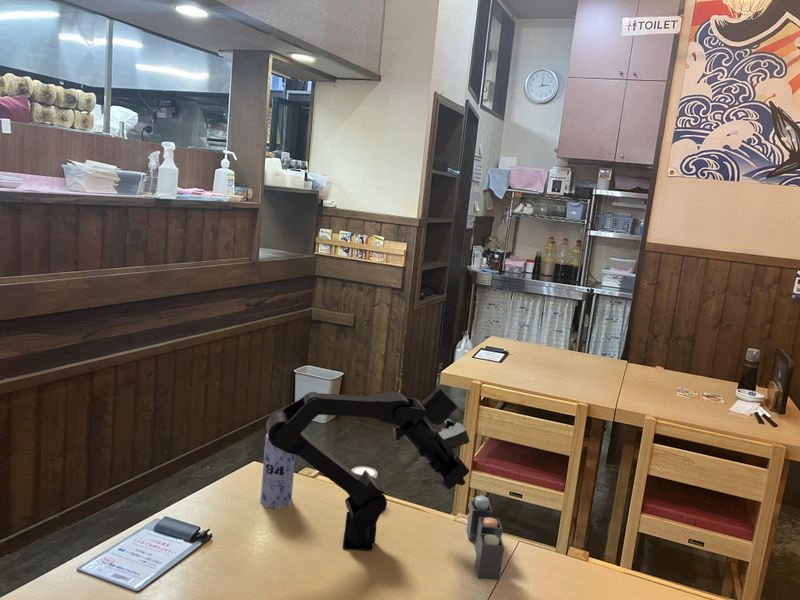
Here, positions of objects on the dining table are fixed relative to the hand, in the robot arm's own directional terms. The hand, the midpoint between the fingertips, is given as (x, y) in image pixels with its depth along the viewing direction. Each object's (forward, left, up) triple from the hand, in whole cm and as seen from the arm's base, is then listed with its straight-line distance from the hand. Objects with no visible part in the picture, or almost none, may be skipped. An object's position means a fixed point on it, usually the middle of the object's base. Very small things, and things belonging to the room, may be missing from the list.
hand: (463, 483), depth 147 cm
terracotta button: (+6, -6, -8) cm, 12 cm away
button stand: (+6, -6, -13) cm, 16 cm away
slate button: (+5, +2, -6) cm, 8 cm away
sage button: (+5, -13, -8) cm, 16 cm away
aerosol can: (-44, +10, -14) cm, 47 cm away
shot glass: (-23, +16, -14) cm, 31 cm away
